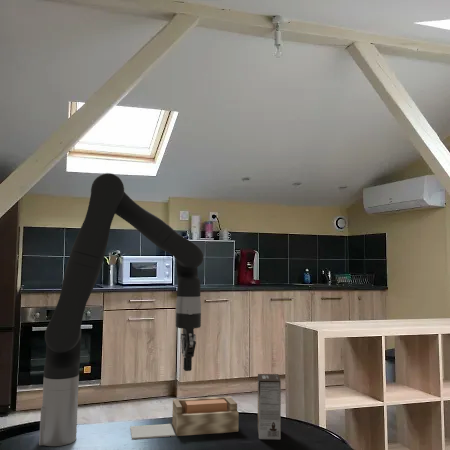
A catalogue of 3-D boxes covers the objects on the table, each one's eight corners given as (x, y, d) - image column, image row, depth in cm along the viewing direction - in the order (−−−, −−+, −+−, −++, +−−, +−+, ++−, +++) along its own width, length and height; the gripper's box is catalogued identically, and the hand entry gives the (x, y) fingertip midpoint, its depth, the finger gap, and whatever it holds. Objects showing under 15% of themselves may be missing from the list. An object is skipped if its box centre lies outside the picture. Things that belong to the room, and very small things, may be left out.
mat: (132, 439, 129) (132, 437, 129) (130, 427, 138) (130, 426, 138) (175, 436, 132) (175, 434, 132) (170, 425, 141) (170, 423, 141)
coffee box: (257, 428, 139) (257, 373, 141) (278, 429, 139) (278, 373, 140) (258, 439, 130) (258, 380, 131) (281, 439, 130) (281, 380, 131)
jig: (177, 436, 132) (177, 408, 133) (172, 425, 141) (172, 399, 142) (238, 431, 136) (238, 404, 137) (229, 421, 146) (229, 396, 147)
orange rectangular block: (187, 417, 136) (187, 405, 136) (184, 413, 140) (185, 401, 140) (227, 414, 139) (227, 402, 139) (223, 411, 143) (223, 399, 143)
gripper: (173, 310, 147) (171, 366, 145) (179, 313, 134) (178, 375, 132) (196, 309, 148) (195, 365, 147) (205, 313, 136) (204, 374, 134)
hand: (187, 370), depth 139 cm, fingers closed
